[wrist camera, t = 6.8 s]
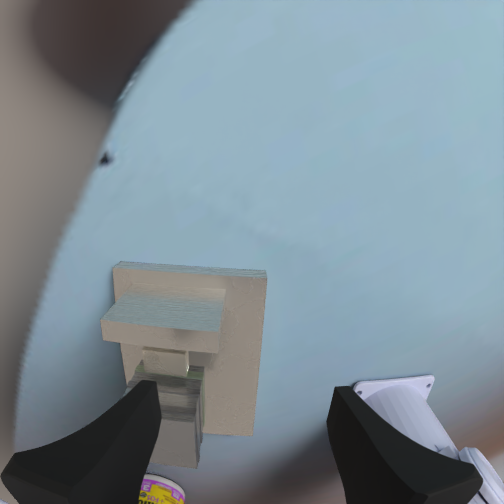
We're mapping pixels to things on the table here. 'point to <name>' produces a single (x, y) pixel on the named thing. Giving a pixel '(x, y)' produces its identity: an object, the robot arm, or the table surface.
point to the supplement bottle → (160, 491)
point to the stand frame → (194, 332)
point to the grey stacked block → (177, 415)
